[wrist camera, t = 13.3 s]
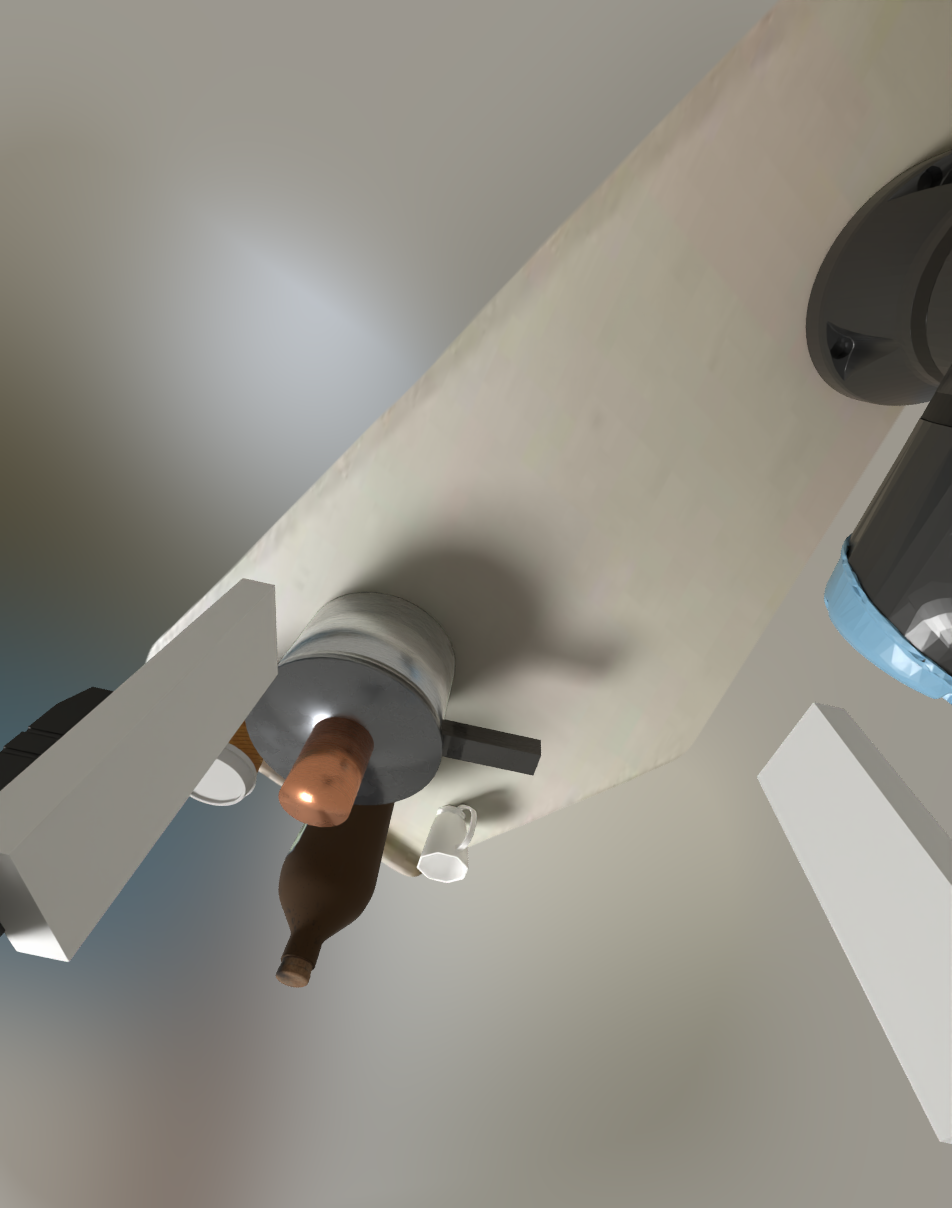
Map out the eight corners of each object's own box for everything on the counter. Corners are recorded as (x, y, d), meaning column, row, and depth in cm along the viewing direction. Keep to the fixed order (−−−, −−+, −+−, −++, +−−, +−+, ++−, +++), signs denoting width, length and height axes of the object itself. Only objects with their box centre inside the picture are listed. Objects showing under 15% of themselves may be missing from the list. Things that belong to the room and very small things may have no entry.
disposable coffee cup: (251, 664, 59) (192, 736, 49) (310, 711, 62) (266, 788, 52) (211, 699, 63) (148, 772, 52) (268, 741, 66) (219, 818, 55)
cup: (418, 814, 71) (406, 867, 64) (457, 782, 66) (448, 835, 59) (456, 835, 72) (448, 889, 65) (496, 805, 68) (493, 859, 61)
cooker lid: (458, 679, 41) (444, 750, 34) (429, 812, 51) (413, 888, 44) (243, 633, 41) (186, 695, 34) (255, 775, 51) (212, 846, 44)
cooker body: (557, 629, 52) (564, 704, 41) (517, 745, 61) (515, 830, 51) (303, 573, 51) (246, 635, 41) (303, 699, 61) (256, 775, 51)
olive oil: (407, 749, 64) (344, 964, 42) (404, 799, 69) (347, 1012, 48) (329, 736, 64) (228, 944, 43) (332, 788, 69) (244, 994, 48)
